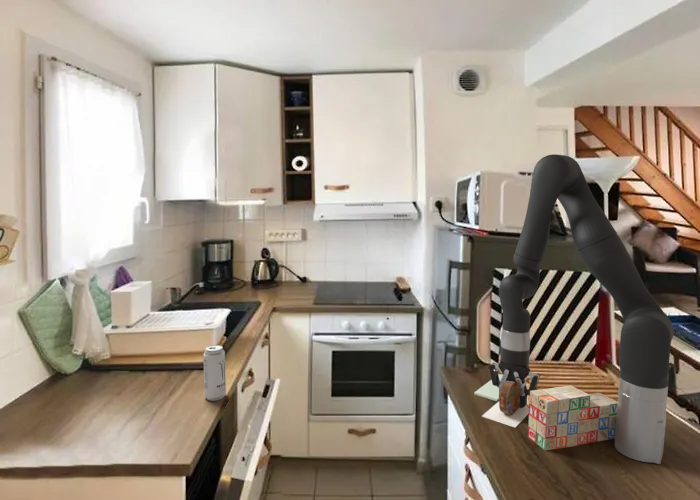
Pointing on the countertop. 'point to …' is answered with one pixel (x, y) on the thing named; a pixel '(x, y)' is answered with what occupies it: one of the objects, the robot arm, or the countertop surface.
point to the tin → (509, 397)
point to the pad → (489, 390)
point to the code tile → (506, 415)
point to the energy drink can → (214, 372)
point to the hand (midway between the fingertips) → (512, 403)
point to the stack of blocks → (570, 417)
